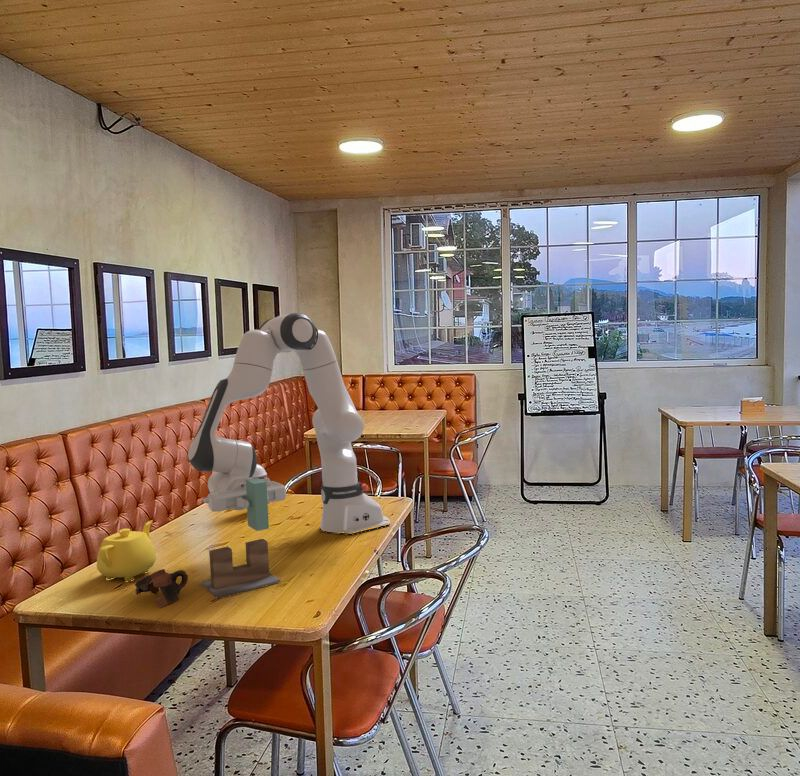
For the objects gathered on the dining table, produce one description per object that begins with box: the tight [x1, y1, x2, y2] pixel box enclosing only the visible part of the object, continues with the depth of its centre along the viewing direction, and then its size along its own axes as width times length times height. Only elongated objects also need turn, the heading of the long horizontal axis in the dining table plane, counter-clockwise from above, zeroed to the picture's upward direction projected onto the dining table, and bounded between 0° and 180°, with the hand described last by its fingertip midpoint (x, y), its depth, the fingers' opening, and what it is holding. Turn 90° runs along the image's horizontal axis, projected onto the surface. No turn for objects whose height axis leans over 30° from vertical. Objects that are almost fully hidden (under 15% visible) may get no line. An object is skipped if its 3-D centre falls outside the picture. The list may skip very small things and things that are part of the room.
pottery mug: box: [134, 568, 189, 608], centre depth 155 cm, size 12×10×8 cm
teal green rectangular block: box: [246, 478, 270, 532], centre depth 166 cm, size 6×3×12 cm, turn 34°
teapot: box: [96, 520, 157, 582], centre depth 173 cm, size 13×20×12 cm
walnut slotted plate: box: [201, 538, 281, 599], centre depth 163 cm, size 12×16×10 cm
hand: (258, 502), depth 165 cm, fingers closed on teal green rectangular block, 3 cm apart
